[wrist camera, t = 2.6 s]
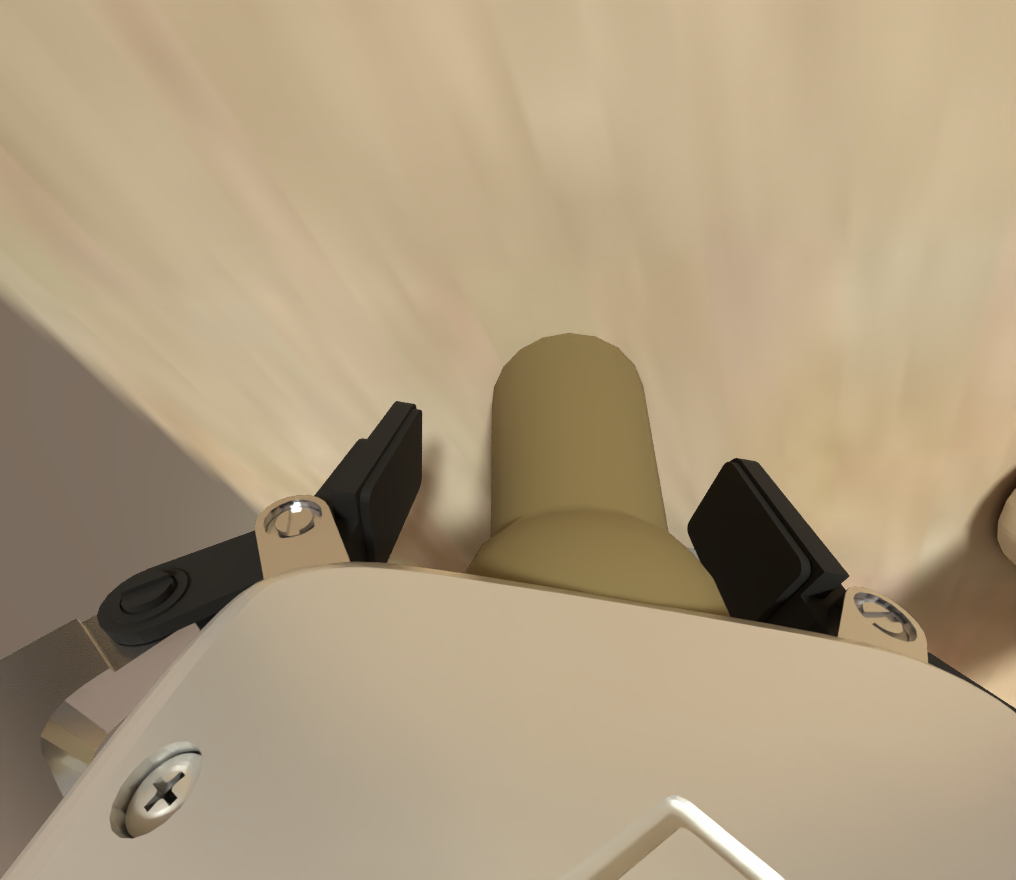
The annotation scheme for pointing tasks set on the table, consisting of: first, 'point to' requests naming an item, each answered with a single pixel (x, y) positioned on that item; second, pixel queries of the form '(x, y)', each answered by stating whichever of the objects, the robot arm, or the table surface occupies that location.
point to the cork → (583, 482)
